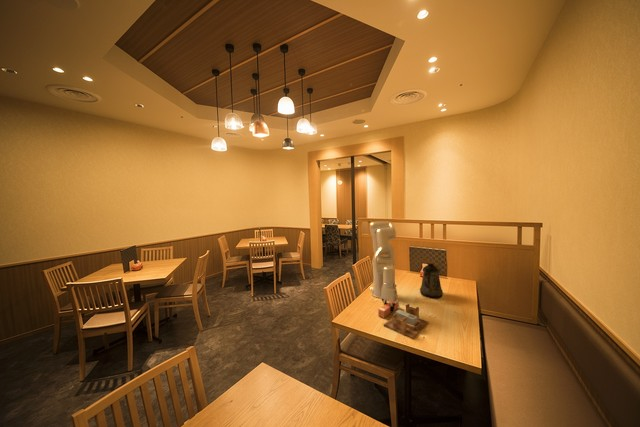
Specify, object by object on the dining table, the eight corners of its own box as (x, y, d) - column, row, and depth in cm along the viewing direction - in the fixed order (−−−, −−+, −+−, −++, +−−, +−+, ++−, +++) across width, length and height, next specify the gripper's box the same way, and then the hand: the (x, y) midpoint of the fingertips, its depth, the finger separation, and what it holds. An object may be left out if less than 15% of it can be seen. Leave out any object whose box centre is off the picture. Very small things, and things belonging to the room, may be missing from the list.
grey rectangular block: (395, 320, 140) (395, 311, 139) (399, 317, 142) (399, 308, 142) (413, 328, 130) (413, 319, 130) (417, 325, 133) (417, 316, 133)
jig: (383, 326, 135) (383, 312, 135) (400, 313, 150) (400, 300, 150) (412, 339, 122) (412, 323, 122) (428, 323, 137) (428, 309, 137)
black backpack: (440, 291, 183) (441, 262, 181) (445, 302, 165) (445, 269, 163) (419, 289, 189) (419, 260, 187) (421, 299, 170) (421, 267, 169)
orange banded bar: (378, 315, 147) (378, 308, 146) (393, 304, 160) (393, 298, 160) (383, 317, 144) (383, 311, 144) (398, 306, 157) (398, 300, 157)
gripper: (403, 286, 147) (402, 312, 149) (381, 279, 159) (381, 303, 161) (397, 289, 142) (397, 317, 143) (375, 282, 154) (375, 307, 156)
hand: (388, 309), depth 152 cm, fingers closed on orange banded bar, 4 cm apart
